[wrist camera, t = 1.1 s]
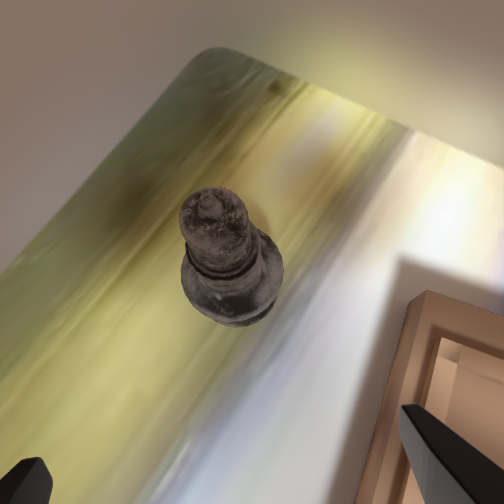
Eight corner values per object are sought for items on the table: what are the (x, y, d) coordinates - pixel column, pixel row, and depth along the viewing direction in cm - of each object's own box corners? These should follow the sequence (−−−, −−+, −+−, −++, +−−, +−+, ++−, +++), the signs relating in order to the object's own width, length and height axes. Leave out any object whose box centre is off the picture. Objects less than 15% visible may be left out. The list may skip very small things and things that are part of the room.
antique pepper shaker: (240, 228, 26) (212, 104, 15) (301, 287, 24) (322, 195, 13) (175, 286, 25) (93, 197, 14) (235, 351, 23) (196, 311, 12)
